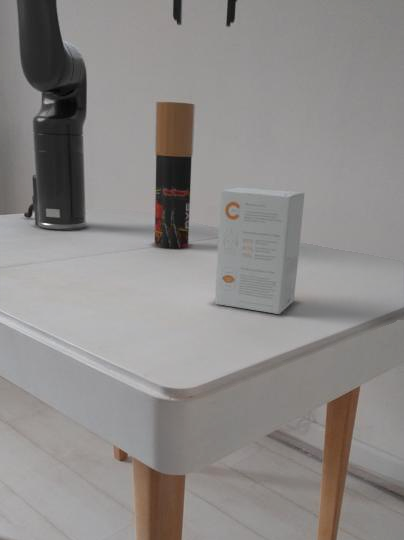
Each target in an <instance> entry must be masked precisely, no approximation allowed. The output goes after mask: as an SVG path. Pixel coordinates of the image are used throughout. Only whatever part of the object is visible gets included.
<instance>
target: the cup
mask: <svg viewBox="0 0 404 540" xmlns="http://www.w3.org/2000/svg"><path fill="white" fill-rule="evenodd" d="M195 109H196V105H195V103H189V102H177V101H156V102H155V137H154V139H155V140H154V152H155V153H154V154H155V156H156V155H161V156H177V157H192V158H193V154H194V135H195V114H196V113H195V111H196V110H195Z"/></svg>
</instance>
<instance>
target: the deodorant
mask: <svg viewBox="0 0 404 540" xmlns="http://www.w3.org/2000/svg"><path fill="white" fill-rule="evenodd" d="M192 158H193V156H192V157H177V156H161V155H155V198H154V200H155V202H154V203H155V204H154V206H155V207H154V246H155V247H158V248H161V249H170V250H174V249H175V250H177V249H178V250H179V249H186V248H188V247H189V235H190V208H191V181H192V180H191V179H192Z"/></svg>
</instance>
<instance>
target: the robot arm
mask: <svg viewBox="0 0 404 540" xmlns="http://www.w3.org/2000/svg"><path fill="white" fill-rule="evenodd" d="M15 1H16V10H17V11H16V12H17V28H18V45H19V47H18V49H19V60H20V65H21V69H22V73H23V75H24V76H23V77H25V80H26V82H27V83H28V84H29V85H30V86H31V87H32V88H33V89H34V90H36V91H37V92H40V93H41V104H40V105H41V106H40V109H39V111H38V112H37V113H36V114H35V115H34V116H33V118H32V133H33V134H32V135H33V136H32V137H33V150H34V152H33V153H34V167H35V168H34V169H35V174H33V175H32V192H33V193H32V194H33V195H31V196H32V203H31V204H30V205H29V206H28V209H27V212H24V213H23V216H24V217H25V218H27V219H30V218H32V216H33V214H34V225H35V226H38V227H39V228H42V229H47V230H58V231H59V230H62V231H63V230H81V229H84V228H86V227H87V220H86V218H87V217H86V185H85V183H86V181H85V151H84V150H85V148H84V147H85V146H84V126H85V125H84V124H85V122H86V120H87V119H86V118H87V110H88V109H87V108H88V104H87V103H88V75H87V67H86V66H87V65H86V61H85V59H84V56H83V54H82V52H81V51H80V49H79V48H78V47H77V46H75V45H74V44H73V43H71V42H68V41H66V40H63V36H62V30H61V25H60V20H59V11H58V0H15ZM172 1H173V2H172V17H173V21H174V22H176V25H177V26H182V24H183V0H172ZM237 2H238V0H227V2H226V3H227V5H226V22H225V26H226V27H227V28H231V24H234V23H235V19H236V5H237Z"/></svg>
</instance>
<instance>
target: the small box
mask: <svg viewBox="0 0 404 540" xmlns="http://www.w3.org/2000/svg"><path fill="white" fill-rule="evenodd" d="M219 199H220V201H219V202H220V203H219V222H218V242H217V259H216V276H215V277H216V278H215V297H214V301H215V302H214V303H215V305H221V306H227V307H234V308H239V309H246V310H251V311H258V312H264V313H270V314H275V315H280V314H281V313H282V312H283V311H285V310H286V309H287V308H288V307H290V305H291V304H293V302H295V293H296V285H297V282H296V281H297V274H298V266H299V254H300V243H301V235H302V224H303V213H304V203H305V192H304V191H292V190H291V191H288V190H276V189H264V188H252V187H235V188H233V187H232V188H228V189H222V190H220V198H219Z"/></svg>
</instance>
